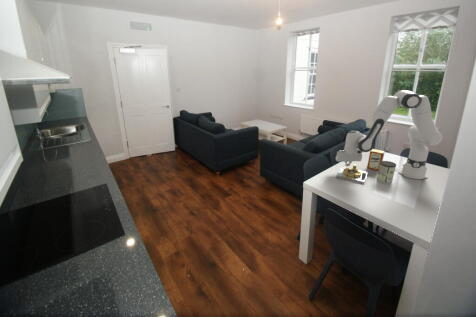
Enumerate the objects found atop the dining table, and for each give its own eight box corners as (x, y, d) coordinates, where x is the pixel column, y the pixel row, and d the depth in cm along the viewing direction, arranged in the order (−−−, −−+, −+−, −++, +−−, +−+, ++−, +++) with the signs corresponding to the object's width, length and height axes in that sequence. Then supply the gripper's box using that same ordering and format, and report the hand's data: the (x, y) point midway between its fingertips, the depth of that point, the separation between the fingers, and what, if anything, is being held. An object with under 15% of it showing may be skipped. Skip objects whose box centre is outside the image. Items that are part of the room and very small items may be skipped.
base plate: (341, 169, 198) (342, 162, 196) (367, 174, 188) (368, 167, 185) (335, 177, 183) (336, 171, 181) (363, 184, 172) (365, 176, 170)
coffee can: (380, 176, 184) (384, 159, 179) (394, 180, 176) (398, 163, 171) (373, 179, 179) (377, 162, 173) (388, 184, 171) (392, 167, 166)
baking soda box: (381, 168, 198) (384, 150, 192) (379, 171, 193) (383, 153, 187) (368, 165, 203) (372, 148, 197) (366, 168, 199) (370, 150, 193)
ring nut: (341, 174, 183) (342, 170, 181) (346, 167, 196) (347, 162, 195) (360, 178, 176) (360, 173, 174) (363, 170, 189) (364, 165, 188)
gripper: (339, 151, 184) (336, 167, 189) (364, 151, 184) (361, 167, 189) (335, 149, 189) (333, 164, 194) (360, 148, 190) (357, 164, 195)
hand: (347, 166), depth 192 cm, fingers closed
